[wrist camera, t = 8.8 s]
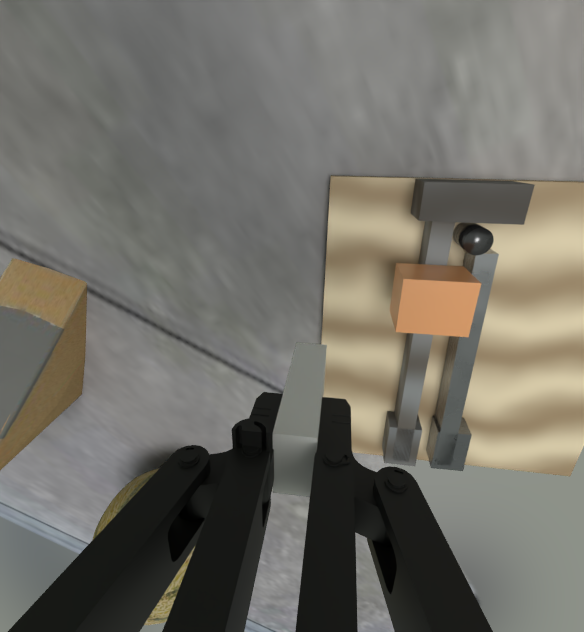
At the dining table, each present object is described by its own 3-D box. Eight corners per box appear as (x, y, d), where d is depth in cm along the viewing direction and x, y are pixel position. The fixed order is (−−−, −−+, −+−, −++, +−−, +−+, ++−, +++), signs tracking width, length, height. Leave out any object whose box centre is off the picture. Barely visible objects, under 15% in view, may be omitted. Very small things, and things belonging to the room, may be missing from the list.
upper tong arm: (455, 220, 29) (466, 227, 26) (509, 221, 28) (526, 228, 26) (416, 449, 38) (421, 471, 36) (456, 452, 38) (464, 475, 35)
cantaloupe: (252, 527, 49) (216, 670, 36) (151, 520, 52) (81, 651, 38) (237, 442, 43) (187, 573, 30) (124, 438, 46) (30, 558, 32)
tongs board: (331, 175, 30) (328, 179, 26) (682, 184, 27) (751, 189, 22) (316, 438, 42) (312, 474, 37) (562, 464, 39) (591, 507, 34)
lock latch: (396, 263, 28) (403, 278, 25) (463, 266, 28) (481, 283, 24) (389, 310, 30) (395, 331, 26) (453, 314, 29) (468, 337, 26)
